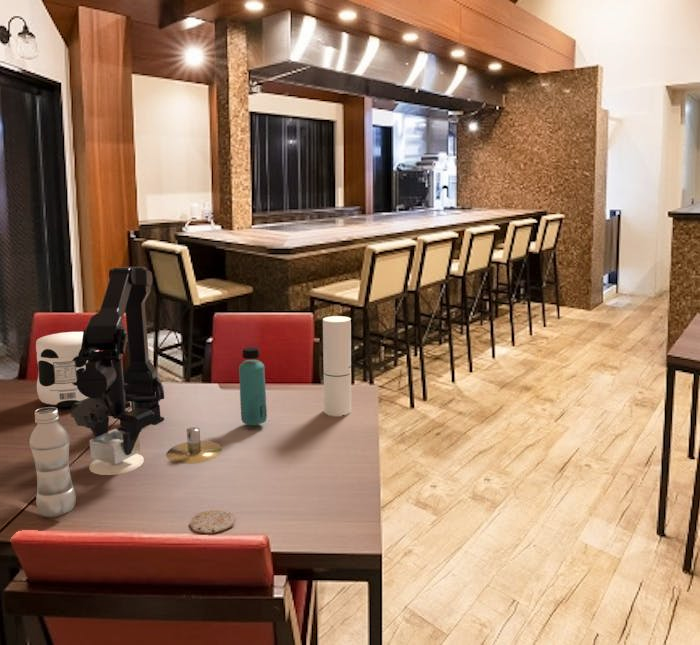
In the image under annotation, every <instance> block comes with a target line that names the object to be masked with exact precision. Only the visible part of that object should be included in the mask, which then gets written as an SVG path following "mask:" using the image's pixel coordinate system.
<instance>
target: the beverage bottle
mask: <svg viewBox="0 0 700 645" xmlns="http://www.w3.org/2000/svg"><path fill="white" fill-rule="evenodd" d="M260 356H261V355H260V349H259V348H258V347H256V346H248V347H244V348H243V349H242V358H243V359H244V361H242V362H241V364H239V366H238V372H239V377H238V378H239V397H240V398H239V400H240V404H239V405H240V418H241V422H242V423H243V424H244V425H249V426H250V425H252V426H254V425H256V426H257V425H261V424H264V423H265V422H266V421H267V418H268V410H267V394H266V393H267V392H266V391H267V390H266V386H267V385H266V377H265V375H266V374H265V364H264V363H263V362H262V361H260V360H258V358H260ZM245 359H246V360H245Z"/></svg>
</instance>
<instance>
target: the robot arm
mask: <svg viewBox="0 0 700 645" xmlns="http://www.w3.org/2000/svg"><path fill="white" fill-rule="evenodd" d="M108 279H109V280H108V282H107V283H108V284H107V287H106V290H105V293H104V296H103V299H102V302H101V306H100V307H99V308H100V309H99V311H98V312H97V313H95V314H94V315H92V316H91V317H90V318H89V321H88V323H87V325H86V327H85V328H84V329H83V331H82V332H83V339H82V346H81V353H80V361H82V360H88V362H87V363H86V364H85V366H86V369H85V370H84V371H83V372H82V373H81V374H80V375H79V376H78V379H77V388H78V390H79V391H80V392H81V394H83V395H84V396H86V397H89V398H87V399H84V400H81V401H79V402H76V403H74V404H73V405H72V406H70V417H71V418H73V420H74V422H75V424H76V425H77V427H86V428H87V429H89V430H91V431H92V434H93V436H94V438H95V437H98V436H100V435H102V434H104V433H107V432H109V421H110V418H111V419H116V420H119V425H120V427H118V428H116V429H117V430H118V431H119V432H121V433H122V435H123V442H124V449H125V453H126V455H130V454H131V453H132V450H133V448H134V445H135V443H136V440H137V438H138V435H139V436H140V433H141V432H142V430H143V428H146V427H148V426H150V425H153V426H155V425H156V424H158V423H160V422H162V421H164V420H165V417H164V416H161V407H160V406H161V405H160V404H159V402H160V401H161V400H164V399H165V390H164V386H163V384H162V382H161V379H160V377H158V371H157V368H156V366H154V364H153V363H152V361H151V360H150V356H149V354H150V353H149V342H148V341H149V340H148V331H147V329H148V328H147V316H146V300H147V298H148V297H149V295H150V293H151V290H152V289H151V288H152V286H153V273H152V271H150V270H149V269H148V268H147V267H146V266H119V267H113V268H110V269H109V271H108ZM124 314H125V322H126V324H125V325H126V327H125V325H124V322H123V318H124ZM89 348H90V350H99V351H91V352H88V350H89ZM126 348H128V358H129V359H128V361H129V364H128V366H127V368H126V370H125V372H124V368H123V367H124V366H123V358H122V357H123V356H124V355H126ZM128 408H131V410H129V411H127V409H128Z"/></svg>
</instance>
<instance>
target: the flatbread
mask: <svg viewBox="0 0 700 645" xmlns="http://www.w3.org/2000/svg"><path fill="white" fill-rule="evenodd" d="M235 521H236V517H235V514H234V513H232V512H231V511H227V510H222V509H211V510H205V511H201V512H198V513H197V514H195V515H194V516H192V518H191V520H190V522H189V526H190V528H191V529H192V530H193V531H194V532H197V533H204V534H214V533H215V534H216V533H219V532H223V531H225V530H227V529H229V528H231V527H234V525H235Z"/></svg>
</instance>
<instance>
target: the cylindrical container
mask: <svg viewBox="0 0 700 645" xmlns="http://www.w3.org/2000/svg"><path fill="white" fill-rule="evenodd" d="M351 320H352V318H351V317H349V316H345V315H344V316H341V315H332V316H326V317H323V318H322V348H323V349H322V353H323V356H322V358H323V361H322V363H323V412H325V413H326V414H325V413H324V414H325V415H327V414H328V415H327V416H330V415H331V416H330V417H343V416H342V415H345V416H347V415H346V414H348V413H350V412H351V413H352V322H351ZM351 413H350V414H351ZM348 415H349V414H348Z"/></svg>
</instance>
